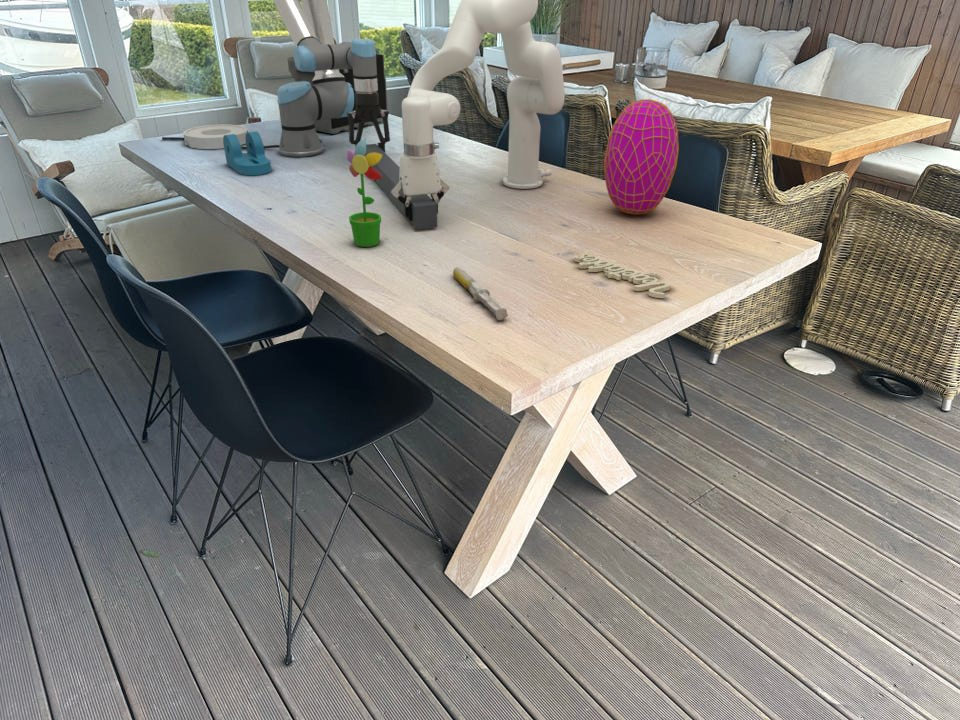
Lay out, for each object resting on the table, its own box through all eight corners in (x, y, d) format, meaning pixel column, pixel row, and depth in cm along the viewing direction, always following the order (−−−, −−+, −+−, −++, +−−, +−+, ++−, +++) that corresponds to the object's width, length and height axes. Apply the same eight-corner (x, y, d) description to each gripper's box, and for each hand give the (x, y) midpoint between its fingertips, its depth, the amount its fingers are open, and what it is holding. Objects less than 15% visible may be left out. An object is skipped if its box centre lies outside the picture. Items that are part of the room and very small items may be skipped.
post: (437, 227, 180) (436, 204, 177) (415, 229, 178) (414, 206, 175) (377, 161, 238) (376, 143, 235) (360, 163, 236) (358, 144, 233)
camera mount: (227, 164, 233) (221, 132, 227) (257, 160, 238) (252, 129, 233) (244, 176, 220) (239, 143, 215) (276, 172, 225) (271, 139, 220)
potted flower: (390, 240, 173) (384, 138, 160) (373, 250, 166) (366, 145, 154) (358, 234, 176) (350, 134, 163) (341, 244, 170) (331, 141, 157)
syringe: (449, 274, 155) (449, 263, 153) (465, 272, 156) (464, 260, 154) (490, 323, 135) (491, 310, 133) (508, 319, 136) (508, 307, 134)
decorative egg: (646, 228, 182) (662, 110, 167) (585, 212, 193) (596, 100, 178) (681, 212, 194) (699, 100, 179) (622, 197, 206) (635, 91, 190)
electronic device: (355, 114, 307) (349, 41, 292) (392, 121, 296) (388, 45, 281) (291, 128, 282) (281, 48, 266) (329, 136, 271) (321, 53, 255)
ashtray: (199, 134, 271) (197, 123, 269) (257, 135, 271) (255, 124, 268) (174, 148, 251) (172, 137, 249) (237, 149, 251) (235, 138, 249)
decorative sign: (686, 282, 150) (660, 295, 144) (686, 286, 150) (659, 300, 144) (592, 249, 166) (565, 259, 160) (592, 253, 167) (565, 263, 161)
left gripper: (392, 88, 227) (396, 159, 239) (334, 91, 222) (341, 163, 234) (397, 92, 221) (401, 164, 233) (338, 95, 216) (345, 169, 228)
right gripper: (446, 143, 178) (448, 210, 188) (381, 148, 173) (386, 217, 183) (455, 149, 172) (457, 218, 182) (388, 156, 167) (393, 226, 177)
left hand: (371, 163), depth 233 cm, fingers closed on post, 6 cm apart
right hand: (421, 217), depth 182 cm, fingers closed on post, 6 cm apart
